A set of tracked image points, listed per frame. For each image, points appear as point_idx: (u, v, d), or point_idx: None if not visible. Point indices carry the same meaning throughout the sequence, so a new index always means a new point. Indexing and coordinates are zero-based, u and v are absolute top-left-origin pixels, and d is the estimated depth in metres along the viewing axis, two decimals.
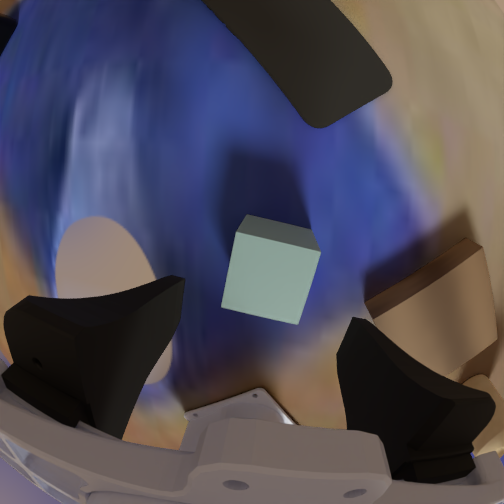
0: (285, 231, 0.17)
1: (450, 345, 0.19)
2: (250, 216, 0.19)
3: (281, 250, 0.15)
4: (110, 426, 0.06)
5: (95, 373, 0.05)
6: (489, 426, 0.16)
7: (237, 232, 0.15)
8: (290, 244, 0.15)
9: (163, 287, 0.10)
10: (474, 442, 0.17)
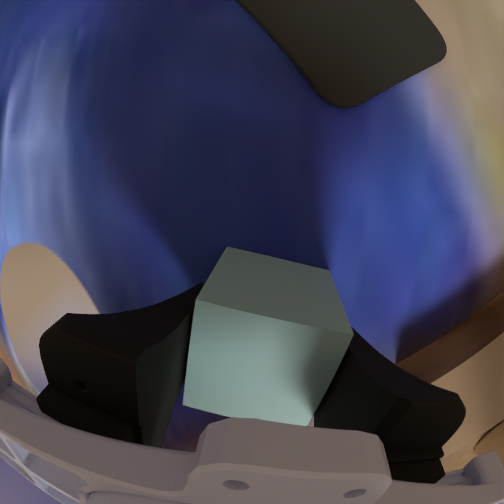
0: (288, 283, 0.10)
1: (493, 406, 0.12)
2: (232, 251, 0.12)
3: (281, 333, 0.08)
4: (153, 442, 0.06)
5: (147, 393, 0.05)
6: None
7: (198, 300, 0.08)
8: (299, 321, 0.08)
9: None
10: None
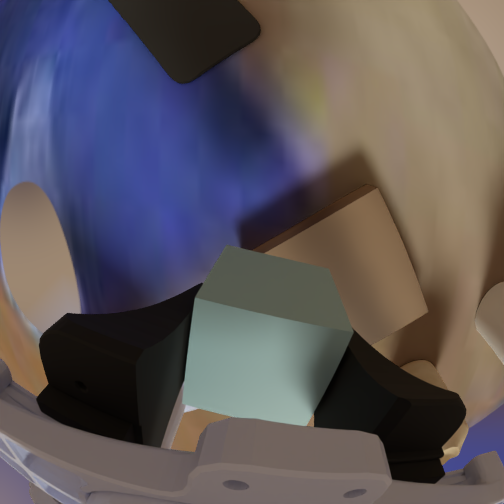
0: (288, 281, 0.10)
1: (354, 312, 0.19)
2: (231, 249, 0.12)
3: (280, 331, 0.08)
4: (153, 442, 0.06)
5: (148, 393, 0.05)
6: None
7: (197, 298, 0.08)
8: (299, 319, 0.08)
9: None
10: None
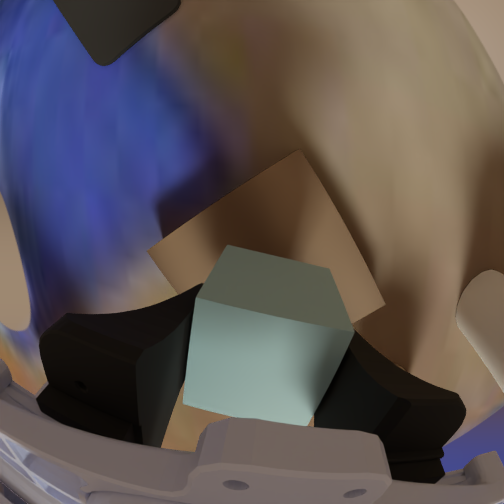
0: (289, 281, 0.10)
1: None
2: (232, 249, 0.12)
3: (282, 331, 0.08)
4: (153, 442, 0.06)
5: (147, 393, 0.05)
6: None
7: (198, 298, 0.08)
8: (300, 319, 0.08)
9: None
10: None
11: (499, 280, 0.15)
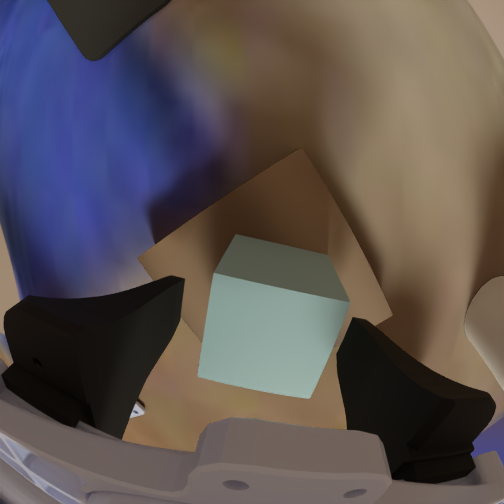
0: (292, 263, 0.12)
1: None
2: (240, 238, 0.13)
3: (287, 301, 0.09)
4: (110, 426, 0.06)
5: (95, 373, 0.05)
6: None
7: (215, 273, 0.09)
8: (303, 291, 0.09)
9: (163, 287, 0.10)
10: None
11: None
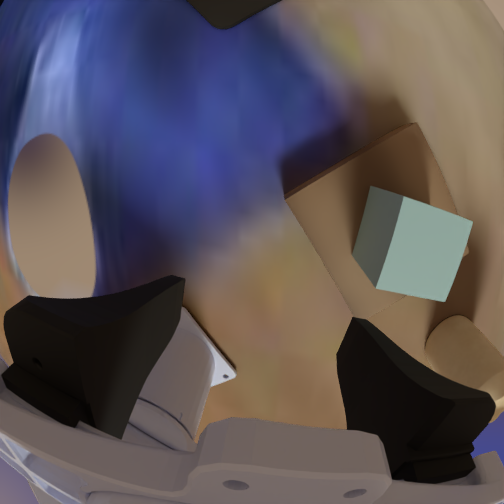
0: None
1: None
2: None
3: (443, 219, 0.12)
4: (110, 426, 0.06)
5: (95, 373, 0.05)
6: (474, 372, 0.15)
7: (404, 197, 0.12)
8: None
9: (163, 287, 0.10)
10: None
11: None
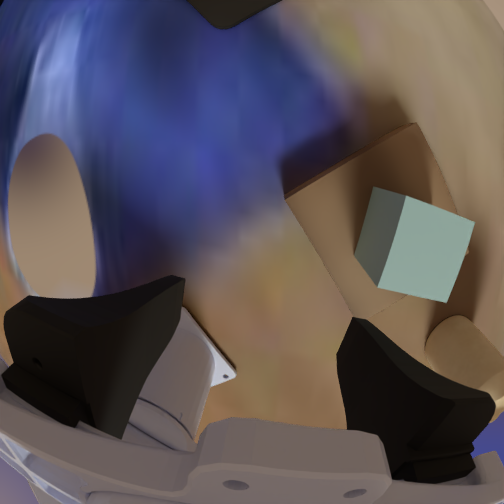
0: None
1: None
2: None
3: (445, 219, 0.12)
4: (110, 426, 0.06)
5: (95, 373, 0.05)
6: (474, 372, 0.15)
7: (407, 196, 0.12)
8: None
9: (163, 287, 0.10)
10: None
11: None
